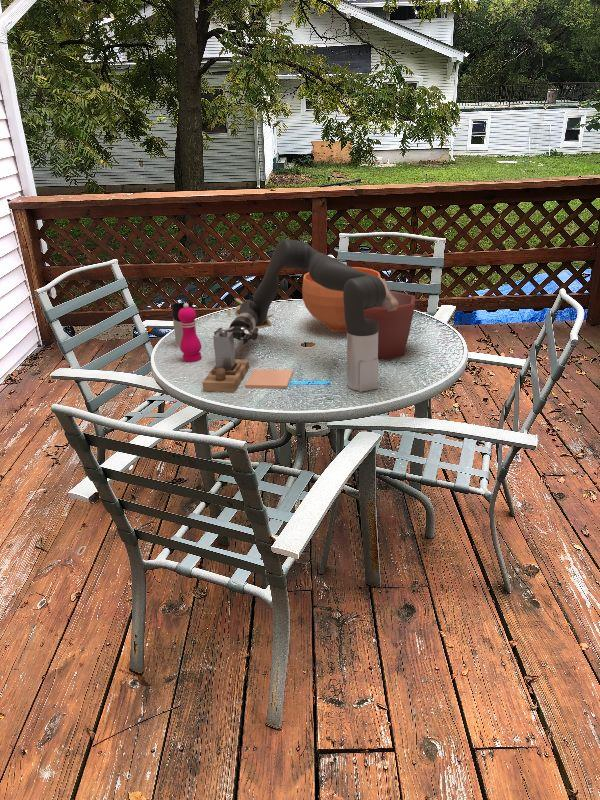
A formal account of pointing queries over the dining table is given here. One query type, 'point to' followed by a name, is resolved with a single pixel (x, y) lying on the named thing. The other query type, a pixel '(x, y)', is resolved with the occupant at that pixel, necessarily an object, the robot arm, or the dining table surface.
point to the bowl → (327, 302)
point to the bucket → (392, 323)
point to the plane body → (226, 377)
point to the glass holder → (178, 321)
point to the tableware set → (255, 326)
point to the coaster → (269, 378)
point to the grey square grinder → (224, 350)
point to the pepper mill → (189, 335)
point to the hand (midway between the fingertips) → (231, 341)
